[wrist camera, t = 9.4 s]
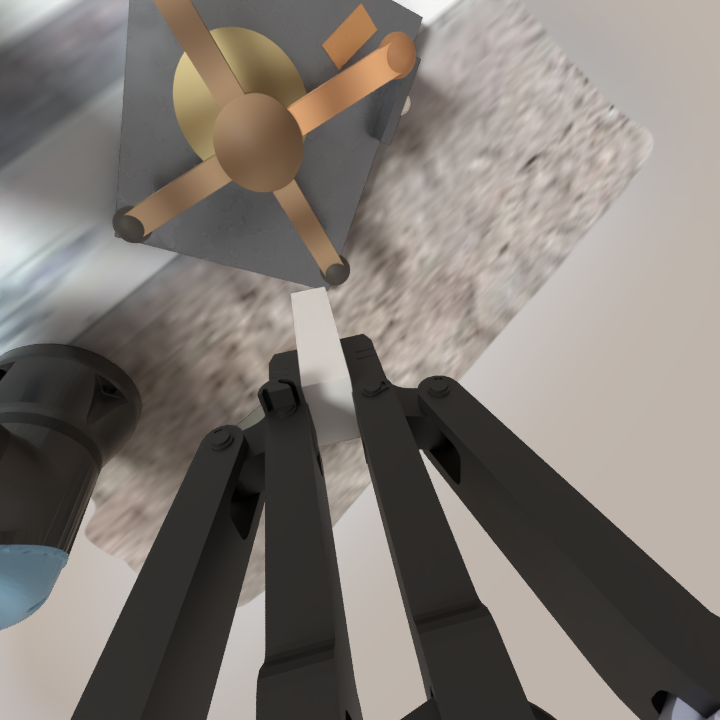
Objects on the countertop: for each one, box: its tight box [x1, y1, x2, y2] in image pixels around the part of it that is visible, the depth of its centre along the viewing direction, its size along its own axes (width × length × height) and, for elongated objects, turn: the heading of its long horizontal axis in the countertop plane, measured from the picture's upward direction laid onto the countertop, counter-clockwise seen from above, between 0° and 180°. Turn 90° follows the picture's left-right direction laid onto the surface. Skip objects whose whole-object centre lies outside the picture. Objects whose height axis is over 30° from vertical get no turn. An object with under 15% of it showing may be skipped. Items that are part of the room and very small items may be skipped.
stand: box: [115, 0, 423, 291], centre depth 33 cm, size 24×21×6 cm
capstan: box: [113, 0, 416, 285], centre depth 31 cm, size 25×25×7 cm
